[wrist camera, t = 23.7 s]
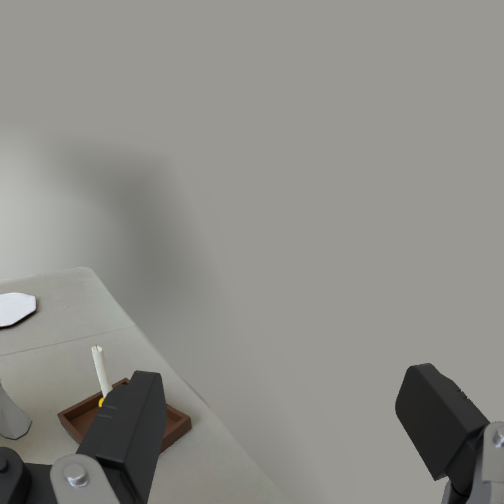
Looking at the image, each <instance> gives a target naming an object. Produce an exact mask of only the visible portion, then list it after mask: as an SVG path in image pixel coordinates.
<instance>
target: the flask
mask: <svg viewBox="0 0 504 504" xmlns="http://www.w3.org/2000/svg"><path fill="white" fill-rule="evenodd" d="M30 424H31V420H30V419H29V418H28V417H27V415H26V414H25V413H24V412H23V411H22V410H21V409H20V408H19V407H18V406H17V405H16V404H15V403H14V402H13V401H12V400H11V399H10V398H9V396H8V395H7V394H6V392H5V391H4V389H3V388H2V385H1V383H0V433H1V435H2V436H5V437H8V438H12V439H16V438H18V437H20V436H21V435H23V434H25V433H26V432H27V431H28V428H29V426H30Z"/></svg>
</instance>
